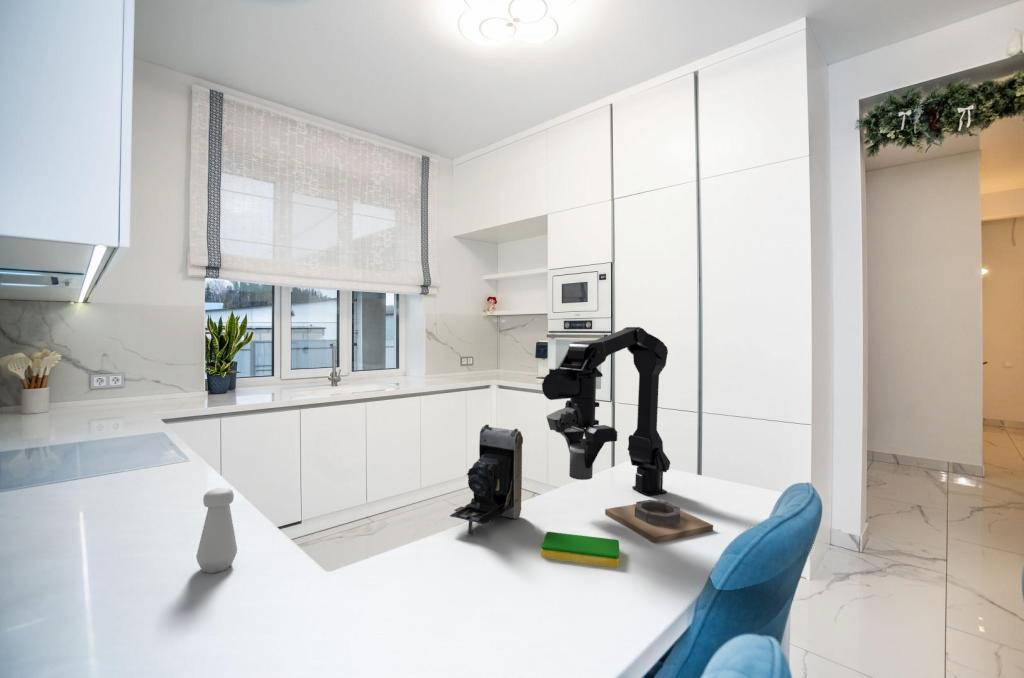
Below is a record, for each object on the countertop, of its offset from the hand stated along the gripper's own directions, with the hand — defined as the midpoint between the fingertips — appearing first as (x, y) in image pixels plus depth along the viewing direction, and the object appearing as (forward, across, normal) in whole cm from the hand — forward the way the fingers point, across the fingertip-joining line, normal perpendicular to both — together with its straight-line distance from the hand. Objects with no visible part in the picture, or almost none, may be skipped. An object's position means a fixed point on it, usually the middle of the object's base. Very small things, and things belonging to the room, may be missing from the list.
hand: (581, 465), depth 107 cm
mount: (+11, +11, +13) cm, 20 cm away
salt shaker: (+11, -2, -71) cm, 72 cm away
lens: (+2, 0, 0) cm, 2 cm away
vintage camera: (+11, -2, -22) cm, 25 cm away
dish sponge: (+12, +17, -11) cm, 23 cm away
